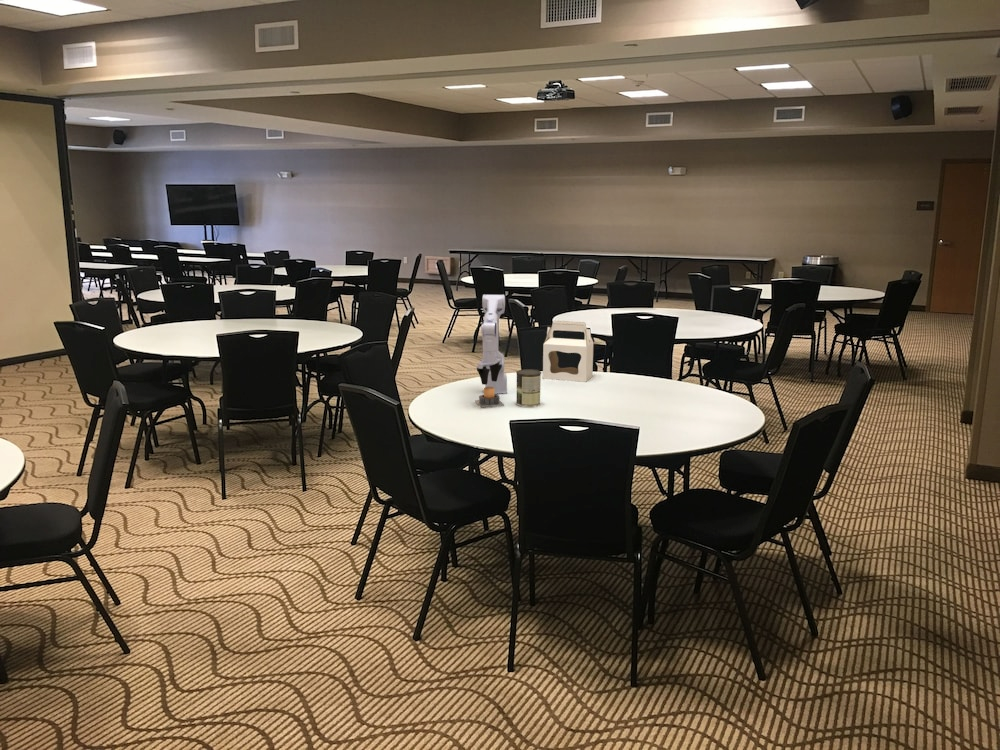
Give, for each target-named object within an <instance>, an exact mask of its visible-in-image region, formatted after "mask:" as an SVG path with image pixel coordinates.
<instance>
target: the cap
mask: <svg viewBox="0 0 1000 750" xmlns="http://www.w3.org/2000/svg"><path fill="white" fill-rule="evenodd" d="M483 390H484V391H483V395H484V398H495V395H496V394H495V388H494V387H483Z"/></svg>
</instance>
